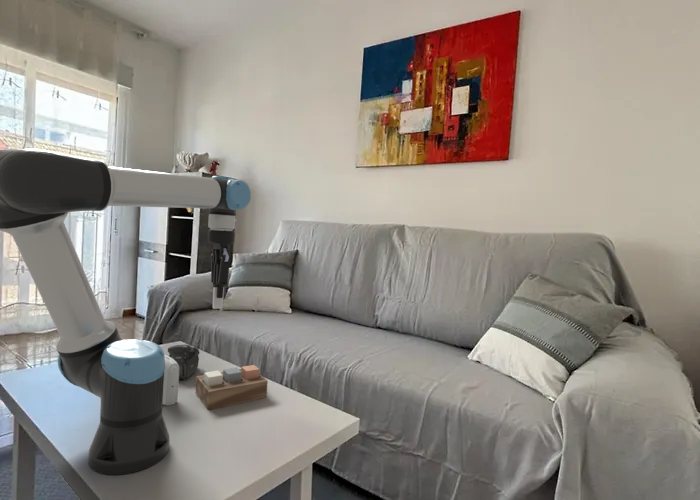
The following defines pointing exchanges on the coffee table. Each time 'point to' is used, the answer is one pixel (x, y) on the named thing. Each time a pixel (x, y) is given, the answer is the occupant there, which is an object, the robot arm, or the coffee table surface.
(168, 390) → the photo printer
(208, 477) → the coffee table surface
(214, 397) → the wooden block tray
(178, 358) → the camera
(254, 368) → the terracotta key
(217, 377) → the cream short block
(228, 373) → the slate key
